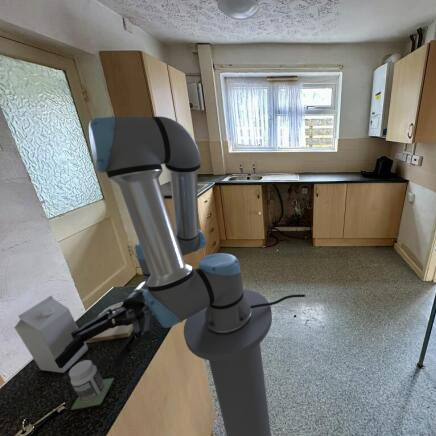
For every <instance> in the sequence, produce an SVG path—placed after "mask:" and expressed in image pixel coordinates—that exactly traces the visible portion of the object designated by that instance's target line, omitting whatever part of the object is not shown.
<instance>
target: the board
mask: <svg viewBox="0 0 436 436" xmlns="http://www.w3.org/2000/svg"><path fill="white" fill-rule="evenodd" d="M123 302H124V301H120V302H118V303H114V304H112V305H110V306H108V307H106V308H105V309H103V310H102V311H101V312H100V313H99V314H98V315H97V317H98V316H100V315H101V314H103V313H104V312H105V311H106V310H107V309H111V310H112V311H117V310H118V309H120V308H121V306H122V303H123ZM97 317H96V318H97ZM112 322H113V324H114V323H115V321H114V318H113V319H112ZM133 332H134V329H133V325H132V324H130V325H129V326H125V325H122V326H116V327H115V328H110V329H108V330H106V331H104V332H102V333H100V334H98V335H96V336H94V337H93V338H91V339H89V340H87V341H85V343H86V344H88V343H89V344H91V343H97V342H104V341H110V340H114V339H115V340H117V339H122V338H129V337H130V336H131V335H132V333H133Z"/></svg>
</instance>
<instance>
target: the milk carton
mask: <svg viewBox="0 0 436 436" xmlns="http://www.w3.org/2000/svg"><path fill="white" fill-rule="evenodd" d="M18 318H19V321H18V322H17V323H16V325H15V326H14V329H15V331H16V333H17V334H18V336H19V337H20V339H21V340H22V343H23V344H24V346H25V347H26V348H27V350H28V352H29V353H30V355H31V357H32V358H33V360H34V362H35V363H36V366H38V368H39V370H40V371H45V372H54V373H61V374H64V373H65V372H66V371H68V369H70V368H71V366H72V367H73V365H74V364H75V363H76V362H77V361H78V360H79V359H80V358H81V357H82V356H84V355H85V353H87V351H88V350H89V347H88V345H87V343H85V342H84V343H85V345H84V346H83V347H82V348H81V349H80V350H79V351H78V352H77V353H76V354H75V355H74V356H73V357H72V358H71V359H70V361H69V362H68V363H67V364H66V365H65V366H64V367H63V368H59V367H58V366H57V364H56V362H55V359H56V358H57V357H58V356H59V355H60V354H61V353H62V352H63V351H64V350H65V348H66V346H68V345H69V344H70V343H71V342H72V341H73V340H74V339H73V337H72V335H71V333H72V332H74V331H75V330H77V329H79V326H78V324H77V322H76V321H75V319H74V317H73V315H72V313H71V311H70V309H69V307H67V306H65V305H63V303H61V302H59V301H58V300H57V299H55V298H54V297H53V295H50V296H48V297H47V298H44V299H43V300H41V301H40V302H37V304H35V305H34V306H32V307H30V308H29V309H27V310H25V311H24V312H22V313H21V314H19V315H18Z"/></svg>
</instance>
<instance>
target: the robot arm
mask: <svg viewBox="0 0 436 436" xmlns="http://www.w3.org/2000/svg"><path fill="white" fill-rule="evenodd" d="M88 135H89V136H88V137H89V142H90V148H91V154H92V158H93V162H94V165H95V168H96V170H97V172H99V173H103V174H104V173H106V176H107V178H108V180H109V181H110V182H113V183H114V184H116V185H118V186H119V189H120V192H121V194H122V198H123V201H124V204H125V206H126V209H127V212H128V215H129V218H130V221H131V223H132V226H133V229H134V232H135V235H136V237H137V243H135V245H134V251H135V255H136V259H137V261H138V263H139V267H140V270H141V273H142V277H143V280H142V281H141V282H140V284H139V285H137V286H136V287H135V289H134V290H132V291H131V293H130V294H129V295H128V296H126V298H125V299H124V300H123V301H122V302H123V303H122V306H121V308H120V309H118V310H117V311H112V310H111V309H107V310H106V311H105V312H104V313H103V314H101V315H100V316H98V315H97V316H98V317H95V318H93V319H92V320H90V321H89V322H86V323H85V324H84V325H82V326H80V327H78V329H77V330H75V331H74V332H72V333H71V335H72V337H73V339H74V340H73V341H72V342H71V343H70V344H69V345H68V346H66V348H65V350H64V351H63V352H62V353H61V354H60V355H59V356H58V357H57V358H56V359H55V362H56V364H57V366H58V367H59V368H63V367H64V366H65V365H66V364H67V363H68V362H69V361H70V359H71V358H72V357H73V356H74V355H75V354H76V353H77V352H78V351H79V350H80V349H81V348H82V347H83V346H84V345H85V343H84V342H85V341H87V340H89V339H91V338H93V337H94V336H96V335H98V334H100V333H102V332H104V331H106V330H108V329H110V328H115V327H116V326H122V325H125V326H129V325H130V324H132V325H133V332H134V334H130V336H129V337H127V340H126V341H125V342H124V344H122V346H121V347H120V349H119V350H118V351H117V353H116V354H115V355H114V356H113V358H112V360H113V362H114V365H115V367H116V368H120V367H121V366H122V364H123V363H124V362H125V360H126V359H127V357H128V356H129V355H130V353H133V352H134V351H135V350H136V348H137V347H138V346H139V344H140V343H141V342H143V340H146V341H148V340H150V339H151V338H152V333H153V332H152V331H153V319H154V318H155V319H156V321H157V322H158V323H159V325H160V326H161V327H162V328H165V329H168V328H169V329H170V328H172V327H174V326H176V325H177V324H179V323H183V322H184V321H186V320H187V318H189V317H190V316H192V315H194V314H196V313H197V312H199V311H201V310H203V309H204V308H206V307H207V310H206V312H205V313H206V315H205V322H206V326H207V328H208V330H209V331H211V332H212V333H214V334H218V335H227V334H232V333H235V332H237V331H239V330H240V329H242V328H243V327H245V326H246V325H247V323H248V322H249V320H250V318H251V315H252V312H251V308H256V307H262V306H269V305H270V306H274V305H277V304H279V303H280V302H283V301H285V300H288V299H292V298H305V297H306V294H303V293H302V294H289V295H286V296H283V297H281V298H279V299H277V300H275V301H271V302H269V303H264V304H258V305H252V306H250V304H249V302H248V301H247V299H246V297H245V295H244V293H243V289H244V287H243V278H242V269H241V265H240V261H239V260H238V258H237V257H236V256H235V255H233V254H230V253H223V252H217V253H212V254H208V255H205V256H203V257H202V258H201V259H200V260H199V262H198V267H197V268H195V269H194V268H193V265H190V264H188V263H186V262H185V259H184V256H187V255H189V254H192V253H195V252H197V251H199V250H201V249H203V248H205V247H206V245H207V239H206V236H205V233H204V232H203V231H202V230H201V229H199V200H198V199H199V198H198V197H199V196H198V193H199V192H198V172H199V170H200V169H201V168H202V167H201V164H202V163H201V153H200V150H199V148H198V145H197V142H196V141H195V139H194V137H193V136H192V134H191V133H190V132H189V131H188V130H187V129H186V127H184V126H183V125H182V124H181V123H179V122H178V121H176V120H174V119H172V118H169V117H166V116H115V115H111V116H108V117H107V116H106V117H94V118H93V119H91V120H90V121H89V124H88ZM162 165H164V167H165V169H167V170H168V172H169V179H170V189H171V200H172V209H173V210H172V211H173V219H174V224H173V220H172V218H171V214H170V212H169V208H168V205H167V202H166V199H165V195H164V192H163V189H162V185H161V183H160V176H161V175H162V173H163V171H164V170H163V167H162ZM143 318H144V324H143V325H144V326H143V331H141V327H140V323H139V320H141V319H143ZM112 319H114V321H115V323H114V324H113V322H112Z"/></svg>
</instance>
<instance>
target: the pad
mask: <svg viewBox="0 0 436 436" xmlns="http://www.w3.org/2000/svg"><path fill="white" fill-rule="evenodd" d="M103 381H104V383H105V388H104V390H103V391H102V393H101V394H100V395H99V396H97V397H96V398H95V399H93V400H91V401H88V402H83V401H81V400H80V398H79V396H78V397H77V398H76V400H75V401H74V403H73V404H72V406H71V407H70V410H71V411H73V410H74V411H75V410H79V409H85V408H89V407H90V408H91V407H95V406H101V404H102V403H103V401H104V399H105V397H106V396H107V393H108V392H109V390H110V388H111V386H112V384H113V382H114V381H115V377H111V378H110V377H109V378H105V379H103Z"/></svg>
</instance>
